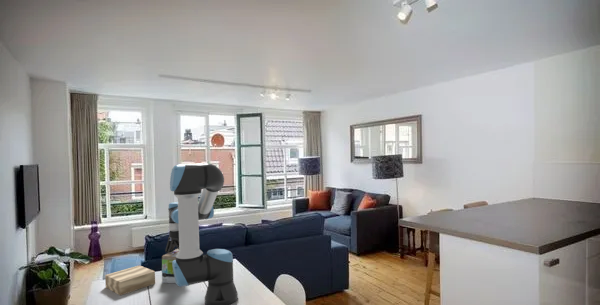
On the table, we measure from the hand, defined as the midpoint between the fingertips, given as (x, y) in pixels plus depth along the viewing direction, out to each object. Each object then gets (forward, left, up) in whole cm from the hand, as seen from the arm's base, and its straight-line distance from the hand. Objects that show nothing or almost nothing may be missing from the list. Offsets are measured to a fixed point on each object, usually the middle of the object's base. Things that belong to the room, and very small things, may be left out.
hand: (177, 267), depth 181 cm
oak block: (+13, +20, -7) cm, 25 cm away
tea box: (0, 0, -6) cm, 6 cm away
